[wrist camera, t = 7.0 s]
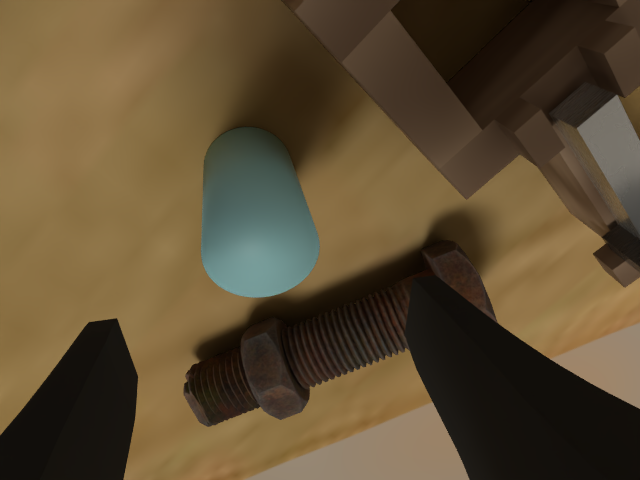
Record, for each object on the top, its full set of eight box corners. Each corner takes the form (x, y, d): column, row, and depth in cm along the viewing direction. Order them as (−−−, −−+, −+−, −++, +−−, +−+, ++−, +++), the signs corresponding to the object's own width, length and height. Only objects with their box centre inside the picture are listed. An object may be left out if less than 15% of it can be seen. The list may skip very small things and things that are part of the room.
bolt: (193, 333, 26) (440, 234, 24) (229, 410, 26) (472, 316, 25) (152, 379, 20) (474, 251, 19) (200, 476, 20) (515, 358, 19)
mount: (276, -6, 15) (302, 18, 11) (491, -263, 13) (632, -360, 8) (516, 255, 25) (579, 322, 20) (666, 138, 22) (773, 187, 18)
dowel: (185, 173, 18) (175, 261, 13) (243, 108, 17) (256, 177, 12) (252, 220, 20) (266, 313, 15) (308, 164, 19) (342, 244, 14)
